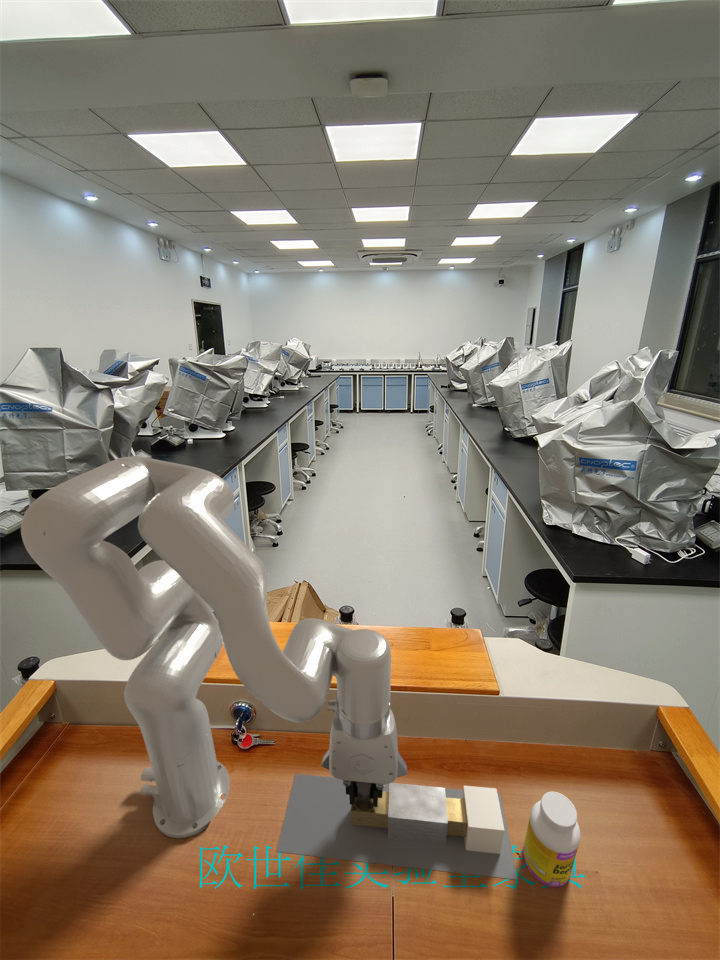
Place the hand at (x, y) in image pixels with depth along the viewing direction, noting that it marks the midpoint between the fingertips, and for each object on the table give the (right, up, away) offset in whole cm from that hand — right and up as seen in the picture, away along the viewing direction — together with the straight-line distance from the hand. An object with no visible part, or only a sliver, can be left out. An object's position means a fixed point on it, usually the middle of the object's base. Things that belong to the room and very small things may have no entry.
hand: (364, 795), depth 67 cm
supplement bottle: (+27, -8, -3) cm, 29 cm away
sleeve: (+8, -5, +1) cm, 10 cm away
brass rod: (+9, -5, +1) cm, 10 cm away
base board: (+5, -6, +2) cm, 8 cm away
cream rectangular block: (+18, -6, 0) cm, 19 cm away
